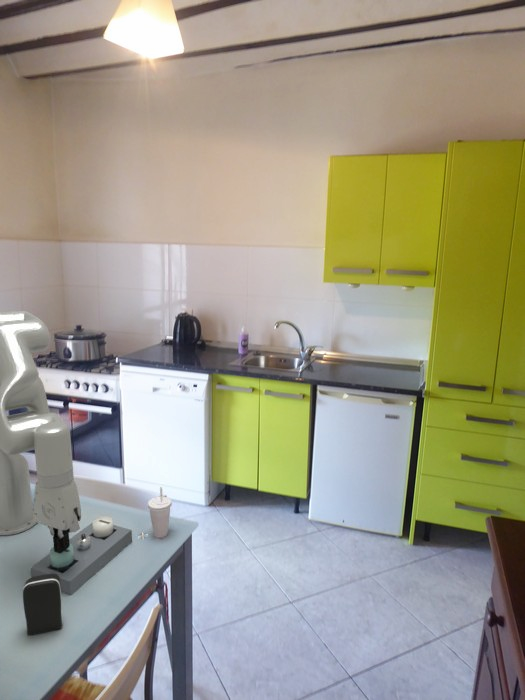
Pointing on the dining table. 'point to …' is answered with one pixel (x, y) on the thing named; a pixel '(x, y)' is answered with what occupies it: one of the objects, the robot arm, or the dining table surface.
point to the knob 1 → (62, 559)
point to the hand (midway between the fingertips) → (62, 549)
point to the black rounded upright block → (43, 603)
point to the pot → (83, 542)
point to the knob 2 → (102, 527)
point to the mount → (86, 558)
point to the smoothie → (160, 514)
